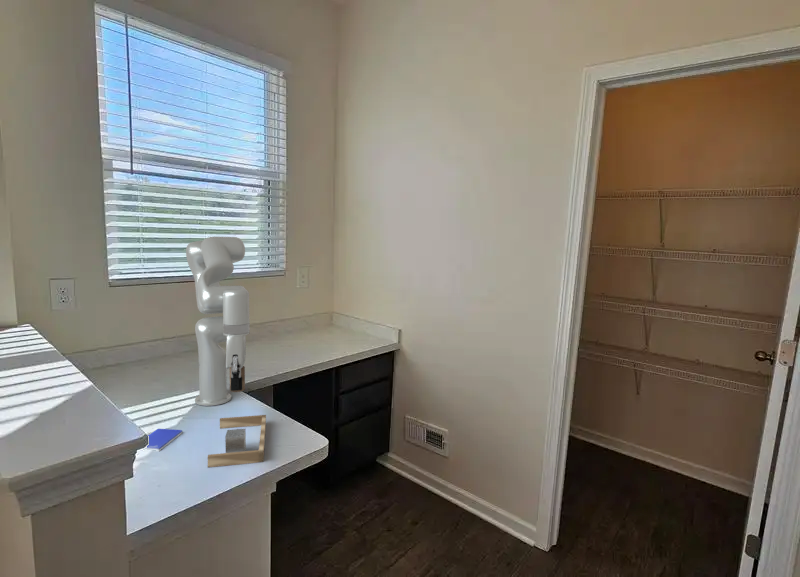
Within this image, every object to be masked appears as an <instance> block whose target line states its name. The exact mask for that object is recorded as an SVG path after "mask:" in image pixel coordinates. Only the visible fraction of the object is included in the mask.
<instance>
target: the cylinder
mask: <svg viewBox="0 0 800 577" xmlns="http://www.w3.org/2000/svg"><path fill="white" fill-rule="evenodd" d="M237 367H240V366H237ZM245 368H246V367H245V366H244V365H243V367H242V368H241V377H242V390H238V391H231V366H230V368H228V369H229V391H230V392H231V393H240V392H243V391H245V390H246V374H245V373H246V369H245ZM237 370H238V371H239V369H237Z"/></svg>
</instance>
